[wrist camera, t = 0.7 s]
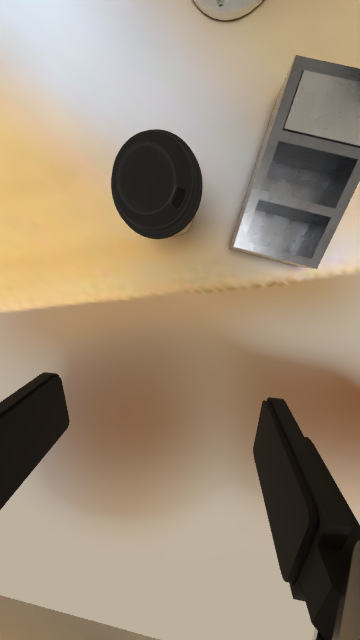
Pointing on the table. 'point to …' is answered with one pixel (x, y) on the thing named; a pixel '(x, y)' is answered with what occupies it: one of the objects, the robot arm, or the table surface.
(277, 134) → the rack
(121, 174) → the coffee cup
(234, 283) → the table surface
